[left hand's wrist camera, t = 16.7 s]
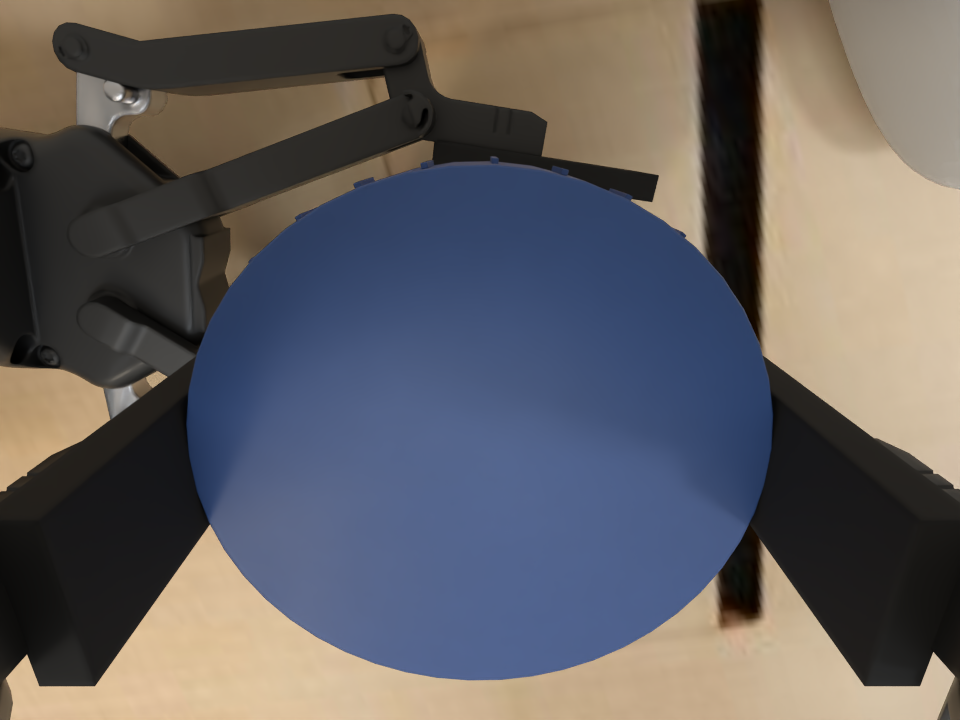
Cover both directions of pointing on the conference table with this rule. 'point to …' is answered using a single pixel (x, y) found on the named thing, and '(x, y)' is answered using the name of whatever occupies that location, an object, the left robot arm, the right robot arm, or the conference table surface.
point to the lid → (479, 421)
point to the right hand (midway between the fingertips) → (606, 334)
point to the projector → (909, 77)
